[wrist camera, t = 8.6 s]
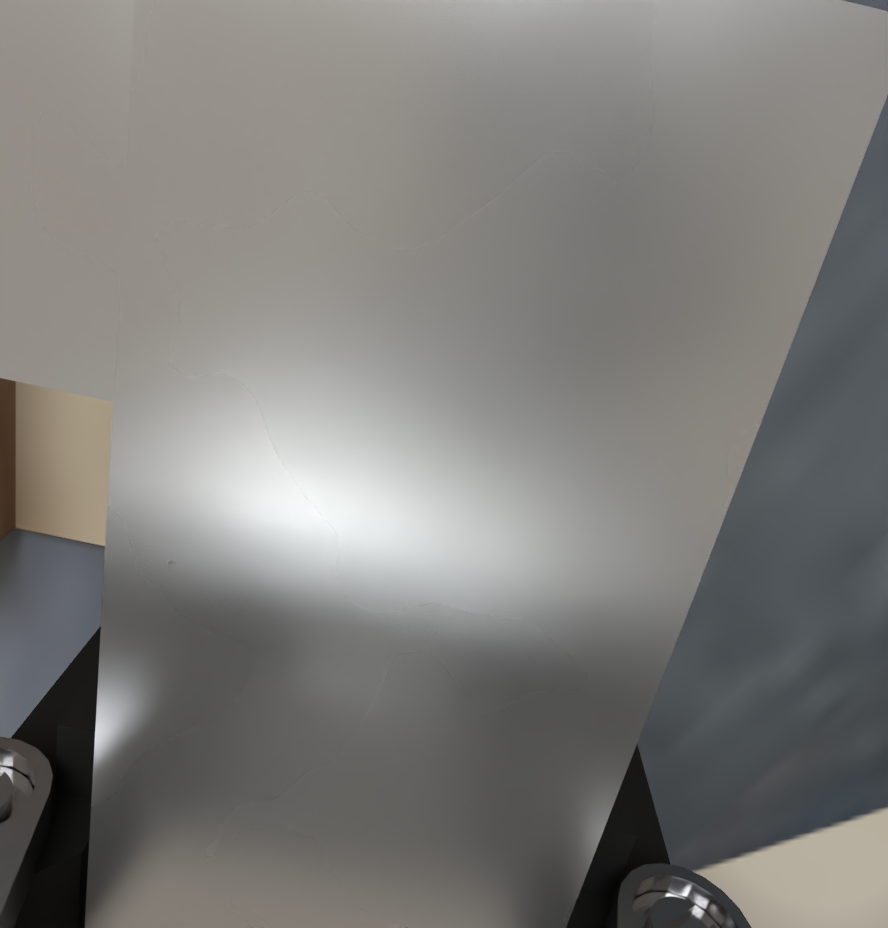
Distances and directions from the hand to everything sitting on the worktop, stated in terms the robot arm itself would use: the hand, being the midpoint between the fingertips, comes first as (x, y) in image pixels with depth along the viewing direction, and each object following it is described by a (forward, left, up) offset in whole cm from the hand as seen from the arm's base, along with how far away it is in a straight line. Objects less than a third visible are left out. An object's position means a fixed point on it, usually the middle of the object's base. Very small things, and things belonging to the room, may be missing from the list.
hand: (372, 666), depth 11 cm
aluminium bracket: (+2, -2, 0) cm, 3 cm away
